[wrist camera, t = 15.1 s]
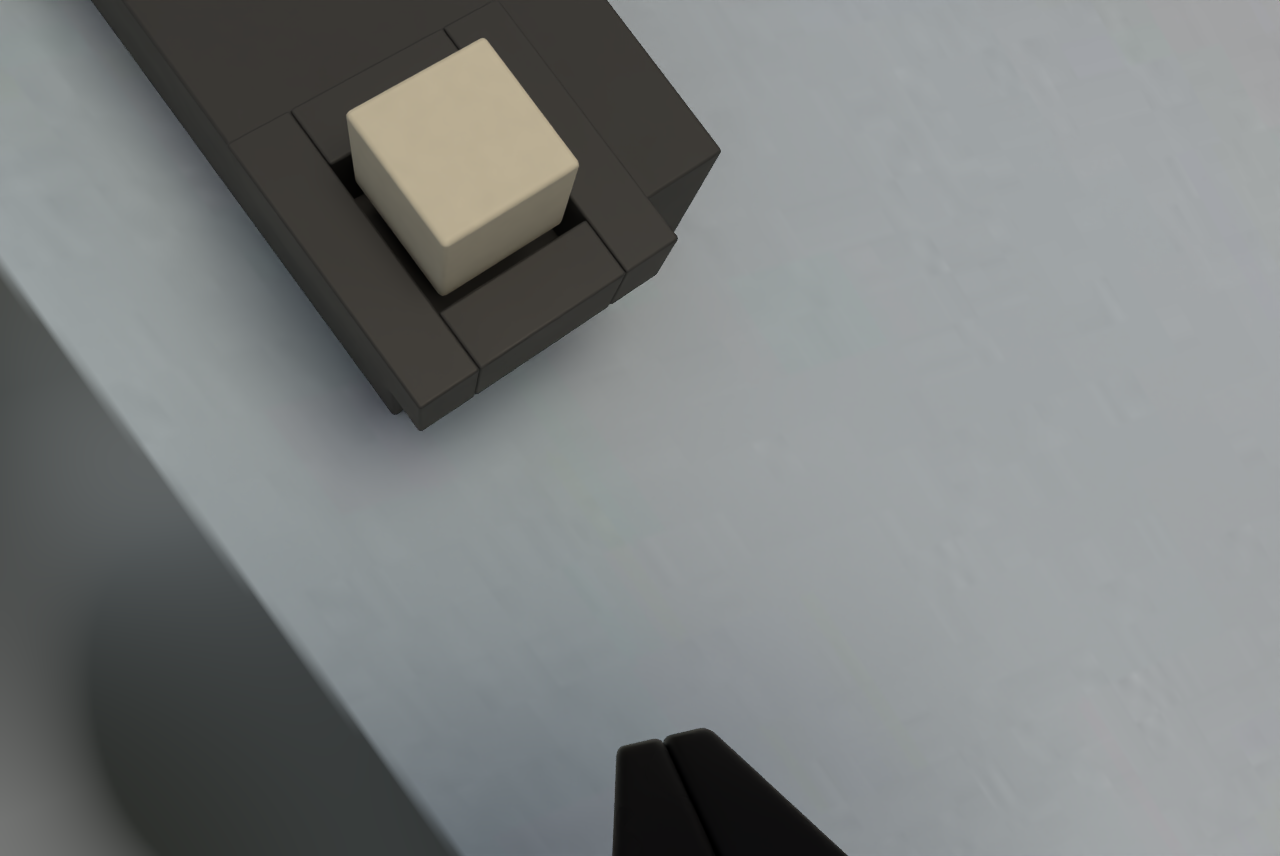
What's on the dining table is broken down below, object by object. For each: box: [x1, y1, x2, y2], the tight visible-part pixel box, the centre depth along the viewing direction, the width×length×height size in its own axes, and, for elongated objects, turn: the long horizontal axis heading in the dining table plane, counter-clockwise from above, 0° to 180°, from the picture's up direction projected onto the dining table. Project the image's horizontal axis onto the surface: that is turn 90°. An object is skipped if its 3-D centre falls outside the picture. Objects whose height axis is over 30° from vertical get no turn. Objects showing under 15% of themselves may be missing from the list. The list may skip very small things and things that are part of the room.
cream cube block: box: [346, 38, 579, 296], centre depth 17 cm, size 3×3×2 cm
